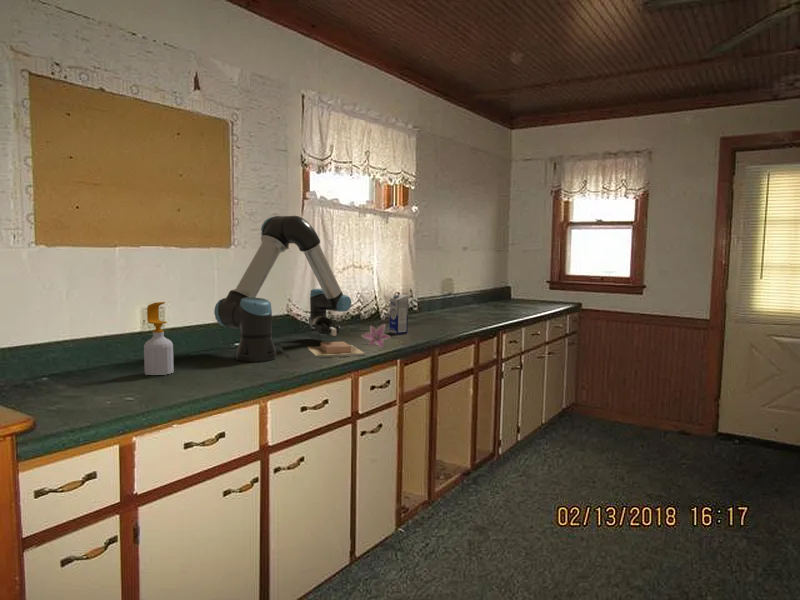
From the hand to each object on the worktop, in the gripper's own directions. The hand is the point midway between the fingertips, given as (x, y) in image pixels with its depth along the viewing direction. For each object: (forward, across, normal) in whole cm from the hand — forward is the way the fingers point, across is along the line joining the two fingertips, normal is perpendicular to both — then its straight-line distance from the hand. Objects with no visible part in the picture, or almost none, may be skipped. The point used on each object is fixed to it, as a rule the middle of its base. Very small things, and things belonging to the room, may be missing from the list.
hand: (334, 332), depth 232 cm
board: (0, 0, -8) cm, 9 cm away
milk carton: (-44, -44, -9) cm, 63 cm away
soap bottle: (+21, +66, -9) cm, 70 cm away
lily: (-9, -21, -9) cm, 25 cm away
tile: (-4, 0, -6) cm, 7 cm away
